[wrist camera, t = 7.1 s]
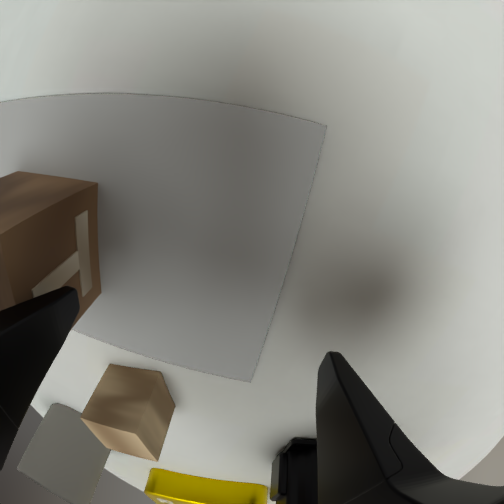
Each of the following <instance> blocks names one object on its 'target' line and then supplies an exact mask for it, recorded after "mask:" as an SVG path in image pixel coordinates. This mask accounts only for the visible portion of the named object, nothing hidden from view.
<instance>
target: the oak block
mask: <svg viewBox="0 0 504 504" xmlns="http://www.w3.org/2000/svg"><path fill="white" fill-rule="evenodd" d="M174 409H175V404H174V402H173V400H172V397H171V395H170V393H169V391H168V388H167V386H166V384H165V381H164V379H163V376H162V374H161V372H160V371H152V370H145V369H138V368H132V367H126V366H120V365H114V364H109V366H108V367H107V369H106V371H105V373H104V374H103V376H102V378H101V380H100V382H99V383H98V385H97V387H96V389H95V391H94V392H93V394H92V396H91V398H90V400H89V402H88V403H87V405H86V407H85V409H84V411H83V413H82V415H81V417H80V418H81V419H82V421H83V422H84V423H85V424H86V425H87V427H88V428H89V429H90V430H91V431H92V432H93V434H94V435H95V436H96V437H97V438H98V439H99V440H100V441H101V442H102V443H103V445H104V446H105V447H106V448H109V449H112V450H115V451H118V452H122V453H125V454H129V455H132V456H136V457H140V458H144V459H148V460H152V461H156V462H158V460H159V457H160V453H161V450H162V447H163V444H164V440H165V437H166V434H167V431H168V428H169V424H170V421H171V418H172V415H173V412H174Z"/></svg>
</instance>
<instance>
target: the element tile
mask: <svg viewBox="0 0 504 504" xmlns="http://www.w3.org/2000/svg"><path fill="white" fill-rule="evenodd" d="M144 493H145V494H146V495H147V496H148V497H149V498H151V499H152V500H153V501H154V502H155V503H157V504H267V494H268V488H267V487H266V486H264V485H260V484H254V483H243V482H233V481H224V480H216V479H210V478H203V477H197V476H192V475H186V474H181V473H177V472H172V471H168V470H163V469H158V468H152V469H151V471H150V474H149V477H148V480H147V484H146V487H145V490H144Z"/></svg>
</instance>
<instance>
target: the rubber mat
mask: <svg viewBox="0 0 504 504" xmlns="http://www.w3.org/2000/svg"><path fill="white" fill-rule="evenodd" d="M326 128H327V126H326V125H322V124H319V123H315V122H311V121H308V120H304V119H300V118H296V117H292V116H288V115H283V114H279V113H275V112H270V111H265V110H260V109H255V108H250V107H245V106H239V105H233V104H227V103H221V102H214V101H207V100H199V99H191V98H181V97H171V96H158V95H142V94H71V95H55V96H44V97H34V98H26V99H18V100H11V101H5V102H0V178H1V177H3V176H6V175H9V174H11V173H14V172H17V171H22V172H30V173H37V174H44V175H52V176H58V177H65V178H72V179H78V180H85V181H91V182H97V183H98V207H97V219H98V253H99V269H100V281H101V292H102V293H101V294H100V295H99V296H98V297H97V299H96V300H95V301H94V302H93V303H92V305H91V306H90V307H89V308H88V309H87V311H86V312H85V313H84V314H83V315H82V317H81V318H80V319H79V320H78V322H77V323H76V324H75V325H74V326H73V328H72V330H74V331H77V332H79V333H82V334H84V335H87V336H89V337H92V338H94V339H97V340H100V341H102V342H105V343H108V344H110V345H113V346H116V347H119V348H122V349H125V350H128V351H130V352H134V353H137V354H140V355H143V356H146V357H149V358H152V359H156V360H159V361H162V362H166V363H169V364H173V365H177V366H180V367H184V368H188V369H192V370H196V371H200V372H204V373H208V374H212V375H217V376H221V377H226V378H230V379H235V380H240V381H245V382H251V380H252V377H253V374H254V371H255V368H256V365H257V362H258V359H259V356H260V353H261V351H262V348H263V345H264V342H265V339H266V336H267V333H268V329H269V326H270V323H271V320H272V317H273V314H274V311H275V308H276V305H277V302H278V298H279V295H280V292H281V289H282V286H283V282H284V279H285V276H286V273H287V269H288V266H289V263H290V260H291V256H292V253H293V249H294V246H295V243H296V239H297V236H298V232H299V229H300V225H301V222H302V219H303V215H304V211H305V208H306V204H307V201H308V197H309V193H310V190H311V186H312V182H313V179H314V175H315V171H316V167H317V164H318V160H319V156H320V152H321V148H322V144H323V140H324V136H325V132H326Z"/></svg>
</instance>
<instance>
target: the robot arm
mask: <svg viewBox="0 0 504 504" xmlns="http://www.w3.org/2000/svg"><path fill="white" fill-rule="evenodd" d="M79 310H80V304H79V298H78V292H77V289H76V288H74V287H71V286H64V287H61V288H58V289H56V290H53V291H50V292H48V293H45V294H42V295H40V296H37V297H34V298H32V299H29V300H27V301H24V302H21V303H19V304H16V305H14V306H11V307H9V308H6V309H4V310H1V311H0V471H1V470H2V468H3V465H4V463H5V460H6V458H7V455H8V453H9V450H10V448H11V445H12V443H13V441H14V438H15V436H16V434H17V431H18V428H19V427H20V425H21V422H22V420H23V418H24V416H25V414H26V412H27V410H28V408H29V406H30V404H31V402H32V400H33V398H34V396H35V394H36V392H37V390H38V388H39V386H40V384H41V382H42V381H43V379H44V377H45V375H46V373H47V371H48V370H49V368H50V366H51V364H52V363H53V361H54V359H55V357H56V356H57V354H58V352H59V351H60V349H61V347H62V345H63V344H64V342H65V340H66V338H67V336H68V333H69V331H70V329H71V327H72V325H73V323H74V321H75V319H76V317H77V315H78V313H79ZM316 429H317V440H303V439H294V440H292V441H291V442H290V443H289V444H288V446H287V447H286V448H285V449H284V451H283V452H282V453H280V454H279V455H278V456H277V458H276V459H275V460H274V461H273V463H272V474H271V489H270V499H271V500H272V501H276V504H504V486H501V487H500V486H488V485H482V484H477V483H471V482H466V481H461V480H457V479H453V478H450V477H447V476H445V475H444V474H442V473H441V472H440V471H439V470H438V469H437V468H436V467H435V466H434V465H433V464H432V463H431V462H430V461H429V460H428V459H427V458H426V457H425V456H424V455H423V454H422V453H421V452H420V451H419V450H418V449H417V448H416V447H415V446H414V444H413V443H412V442H411V441H410V440H409V439H408V438H407V436H406V435H405V434H404V433H403V432H402V430H401V429H400V428H399V427H398V425H397V424H396V423H394V420H393V419H392V418H391V417H390V415H389V414H388V413H387V411H386V410H385V409H384V408H383V406H382V405H381V404H380V403H379V401H378V400H377V399H376V397H375V396H374V395H373V394H372V392H371V391H370V390H369V389H368V387H367V386H366V385H365V384H364V382H363V381H362V380H361V378H360V377H359V376H358V375H357V373H356V372H355V371H354V370H353V368H352V367H351V366H350V365H349V363H348V362H347V361H346V360H345V358H344V357H343V356H342V354H341V353H339V352H333V351H329V352H327V354H326V355H325V357H324V359H323V361H322V363H321V365H320V367H319V370H318V381H317V398H316ZM0 504H1V503H0Z"/></svg>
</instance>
